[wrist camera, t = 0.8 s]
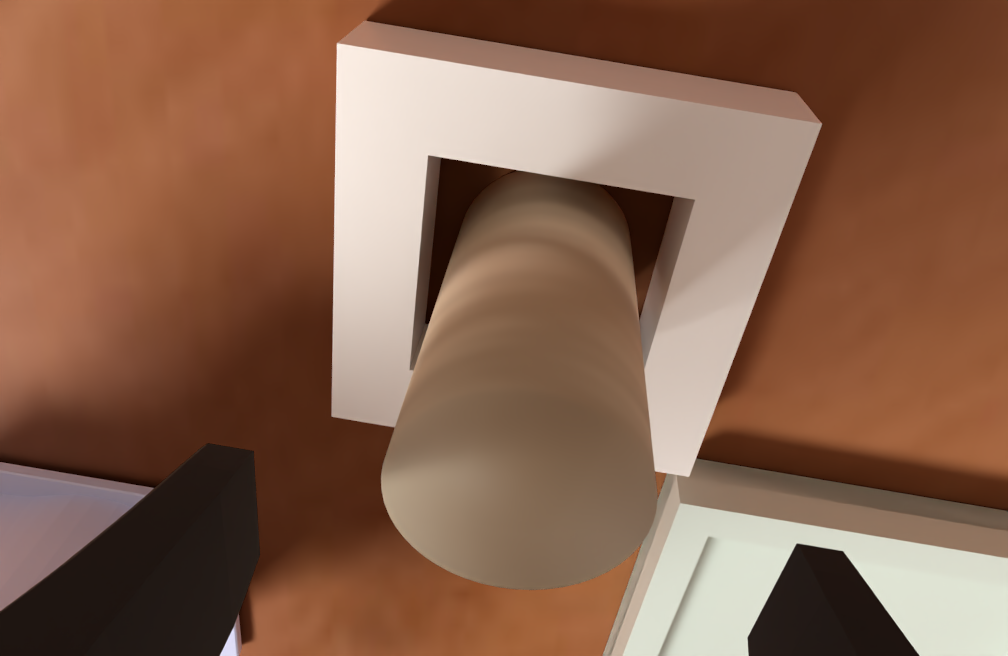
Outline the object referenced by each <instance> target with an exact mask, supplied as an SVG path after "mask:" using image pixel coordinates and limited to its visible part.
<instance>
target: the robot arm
mask: <svg viewBox="0 0 1008 656" xmlns="http://www.w3.org/2000/svg"><path fill="white" fill-rule="evenodd" d="M259 556H260V547H259V531H258V515H257V498H256V482H255V466H254V451H250V450H244V449H239V448H233V447H227V446H221V445H215V444H209V443H208V444H206V445H205V446H203V447H202V448H200V449H199V450H198V451H197V452H195V453H194V454H193V455H192V456H191V457H190V458H189V459H187V460H186V461H185V462H184V463H183V464H182V465H180V466H179V467H178V468H177V469H176V470H175V471H174V472H172V473H171V474H170V475H169V476H168V477H167V478H166V479H164V480H163V481H162V482H161V483H160V484H159V485H157V486H156V487H155V488H151V487H145V486H140V485H134V484H128V483H122V482H116V481H110V480H104V479H98V478H92V477H86V476H80V475H74V474H68V473H63V472H57V471H51V470H45V469H39V468H33V467H27V466H21V465H15V464H9V463H3V462H0V656H239V654H240V652H241V649H242V643H241V632H240V621H239V611H240V609H241V606H242V603H243V601H244V598H245V595H246V593H247V590H248V587H249V584H250V581H251V579H252V576H253V573H254V570H255V567H256V564H257V562H258V559H259ZM747 639H748V653H749V656H919V654H918V653H917V651H916V650H915V649H914V647H913V646H912V645H911V643H910V642H909V641H908V639H907V638H906V636H905V635H904V634H903V632H902V631H901V630H900V628H899V627H898V625H897V624H896V623H895V621H894V620H893V619H892V617H891V616H890V614H889V613H888V612H887V610H886V609H885V608H884V606H883V605H882V603H881V602H880V601H879V599H878V598H877V596H876V595H875V594H874V592H873V591H872V590H871V588H870V587H869V585H868V584H867V583H866V581H865V580H864V579H863V577H862V576H861V574H860V573H859V572H858V570H857V569H856V568H855V566H854V565H853V564H852V562H851V561H850V560H849V558H848V557H847V556H846V554H845V553H844V552H843V551H840V550H834V549H828V548H822V547H816V546H810V545H804V544H798V543H797V544H796V546H795V547H794V549H793V551H792V553H791V555H790V557H789V559H788V561H787V563H786V565H785V567H784V569H783V570H782V572H781V574H780V576H779V578H778V580H777V582H776V584H775V586H774V588H773V590H772V591H771V593H770V595H769V597H768V599H767V601H766V603H765V605H764V607H763V609H762V611H761V613H760V614H759V616H758V618H757V620H756V622H755V624H754V626H753V628H752V630H751V632H750V634H749V635H748V637H747Z"/></svg>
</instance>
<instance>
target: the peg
mask: <svg viewBox="0 0 1008 656" xmlns="http://www.w3.org/2000/svg"><path fill="white" fill-rule="evenodd" d="M381 490H382V495H383V500H384V504H385V506H386V509H387V512H388V514H389V516H390V518H391V520H392V521H393V523H394V525H395V527H396V528H397V529H398V531H399V532H400V533H401V535H402V536H403V537H404V538H405V539H406V540H407V541H408V542H409V543H410V544H411V545H412V546H413V548H415V549H416V550H417V551H418V552H420V553H421V554H422V555H423V556H424V557H426V558H427V559H429V560H430V561H432V562H433V563H435V564H436V565H438V566H440V567H442V568H444V569H446V570H448V571H449V572H451V573H454V574H456V575H459V576H461V577H463V578H466V579H469V580H472V581H475V582H479V583H482V584H486V585H491V586H496V587H501V588H509V589H522V590H539V589H552V588H559V587H565V586H570V585H574V584H578V583H581V582H584V581H587V580H590V579H593V578H595V577H598V576H600V575H602V574H604V573H606V572H608V571H610V570H611V569H613V568H615V567H616V566H618V565H619V564H621V563H622V562H623V561H624V560H626V559H627V558H628V557H629V556H631V555H632V554H633V553H634V551H635V550H636V549H637V548H638V547H639V546H640V545H641V543H642V542H643V540H644V539H645V538H646V536H647V535H648V533H649V530H650V528H651V526H652V524H653V522H654V518H655V514H656V510H657V497H658V496H657V486H656V477H655V467H654V457H653V448H652V438H651V429H650V419H649V410H648V400H647V391H646V381H645V371H644V362H643V352H642V343H641V333H640V324H639V314H638V304H637V295H636V285H635V276H634V266H633V257H632V247H631V238H630V231H629V227H628V224H627V221H626V219H625V216H624V214H623V212H622V210H621V209H620V207H619V205H618V204H617V202H616V201H615V200H614V199H613V198H612V196H611V195H610V194H609V193H608V192H607V191H606V190H604V189H603V188H602V187H601V186H600V185H598V184H597V183H592V182H586V181H580V180H574V179H568V178H562V177H556V176H550V175H544V174H538V173H532V172H526V171H520V170H519V171H515V172H512V173H510V174H507V175H505V176H503V177H501V178H499V179H497V180H496V181H494V182H492V183H491V184H490V185H489V186H487V187H486V188H485V189H483V191H482V192H481V193H480V194H479V195H478V196H477V197H476V198H475V199H474V201H473V202H472V204H471V205H470V207H469V208H468V210H467V212H466V214H465V217H464V219H463V222H462V225H461V228H460V231H459V234H458V237H457V240H456V243H455V246H454V249H453V253H452V256H451V259H450V262H449V265H448V268H447V271H446V274H445V277H444V280H443V283H442V286H441V289H440V292H439V295H438V298H437V301H436V304H435V307H434V310H433V313H432V316H431V319H430V322H429V325H428V328H427V331H426V334H425V337H424V341H423V344H422V347H421V350H420V353H419V356H418V359H417V362H416V365H415V368H414V371H413V374H412V377H411V380H410V383H409V386H408V389H407V392H406V395H405V398H404V401H403V404H402V407H401V410H400V413H399V416H398V419H397V422H396V426H395V429H394V432H393V435H392V438H391V441H390V444H389V447H388V450H387V453H386V456H385V459H384V462H383V467H382V473H381Z"/></svg>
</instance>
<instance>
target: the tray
mask: <svg viewBox="0 0 1008 656" xmlns="http://www.w3.org/2000/svg"><path fill="white" fill-rule="evenodd" d="M797 543H798V544H804V545H810V546H816V547H822V548H828V549H834V550H840V551H843V552H844V553H845V554H846V556H847V557H848V558H849V560H850V561H851V562H852V564H853V565H854V566H855V568H856V569H857V570H858V572H859V573H860V574H861V576H862V577H863V579H864V580H865V581H866V583H867V584H868V585H869V587H870V588H871V590H872V591H873V592H874V594H875V595H876V596H877V598H878V599H879V601H880V602H881V603H882V605H883V606H884V608H885V609H886V610H887V612H888V613H889V614H890V616H891V617H892V619H893V620H894V621H895V623H896V624H897V625H898V627H899V628H900V630H901V631H902V632H903V634H904V635H905V636H906V638H907V639H908V641H909V642H910V643H911V645H912V646H913V647H914V649H915V650H916V651H917V653H918V654H919V656H1008V511H1005V510H999V509H993V508H987V507H981V506H975V505H969V504H963V503H957V502H952V501H946V500H940V499H934V498H928V497H922V496H916V495H910V494H904V493H898V492H892V491H886V490H880V489H874V488H868V487H862V486H856V485H850V484H845V483H839V482H833V481H827V480H821V479H815V478H809V477H803V476H797V475H791V474H785V473H779V472H773V471H767V470H761V469H755V468H749V467H743V466H738V465H732V464H726V463H720V462H714V461H708V460H702V459H696V460H695V463H694V465H693V468H692V471H691V473H690V476H689V477H686V476H680V475H675V474H669V473H667V475H666V478H665V481H664V484H663V486H662V489H661V492H660V495H659V498H658V500H657V510H656V514H655V518H654V522H653V524H652V526H651V528H650V530H649V533H648V535H647V536H646V538H645V539H644V540H643V543H642V546H641V549H640V551H639V554H638V557H637V560H636V563H635V565H634V568H633V571H632V574H631V577H630V580H629V582H628V585H627V588H626V591H625V594H624V597H623V599H622V602H621V605H620V608H619V611H618V614H617V616H616V619H615V622H614V625H613V628H612V630H611V633H610V636H609V639H608V642H607V645H606V647H605V650H604V653H603V656H749V653H748V639H747V637H748V635H749V634H750V632H751V630H752V628H753V626H754V624H755V622H756V620H757V618H758V616H759V614H760V613H761V611H762V609H763V607H764V605H765V603H766V601H767V599H768V597H769V595H770V593H771V591H772V590H773V588H774V586H775V584H776V582H777V580H778V578H779V576H780V574H781V572H782V570H783V569H784V567H785V565H786V563H787V561H788V559H789V557H790V555H791V553H792V551H793V549H794V547H795V546H796V544H797Z"/></svg>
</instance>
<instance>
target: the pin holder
mask: <svg viewBox="0 0 1008 656" xmlns="http://www.w3.org/2000/svg"><path fill="white" fill-rule="evenodd" d="M821 126H822V123H821V122H820V121H819V119H818V118H817V117H816V116H815V114H814V113H813V112H812V111H811V110H810V108H809V107H808V106H807V105H806V103H805V102H804V101H803V100H802V99H801V97H800V96H799V95H798V94H797V93H796V92H790V91H784V90H778V89H772V88H766V87H760V86H754V85H748V84H742V83H736V82H730V81H724V80H718V79H712V78H706V77H700V76H694V75H688V74H682V73H676V72H670V71H664V70H658V69H652V68H646V67H640V66H634V65H628V64H622V63H616V62H610V61H604V60H598V59H592V58H586V57H580V56H574V55H568V54H562V53H556V52H550V51H544V50H538V49H532V48H526V47H520V46H514V45H508V44H502V43H496V42H490V41H484V40H478V39H472V38H466V37H460V36H454V35H448V34H442V33H436V32H430V31H424V30H418V29H412V28H406V27H400V26H394V25H388V24H382V23H376V22H370V21H364V22H362V23H361V24H360V25H359V26H358V27H356V28H355V29H354V30H353V31H351V32H350V33H349V34H348V35H346V36H345V37H344V38H343V39H342V40H340V41H339V42H338V43H337V81H336V147H335V214H334V281H333V347H332V414H331V417H336V418H342V419H348V420H354V421H360V422H366V423H372V424H378V425H383V426H389V427H395V426H396V422H397V419H398V416H399V413H400V410H401V407H402V404H403V401H404V398H405V395H406V392H407V389H408V386H409V383H410V380H411V377H412V374H413V371H414V368H415V365H416V362H417V359H418V356H419V353H420V350H421V347H422V344H423V341H424V337H425V334H426V331H427V328H428V325H429V324H425V321H426V311H427V300H428V290H429V279H430V269H431V259H432V248H433V238H434V227H435V217H436V206H437V196H438V185H439V175H440V165H441V157H442V158H448V159H454V160H460V161H466V162H472V163H478V164H484V165H490V166H496V167H502V168H508V169H514V170H520V171H526V172H532V173H538V174H544V175H550V176H556V177H562V178H568V179H574V180H580V181H586V182H592V183H598V184H604V185H610V186H616V187H622V188H628V189H634V190H640V191H646V192H652V193H658V194H664V195H670V196H675V197H674V200H673V204H672V207H671V211H670V214H669V218H668V222H667V225H666V229H665V232H664V236H663V239H662V243H661V246H660V250H659V253H658V257H657V260H656V264H655V268H654V271H653V275H652V278H651V282H650V285H649V289H648V292H647V296H646V299H645V303H644V306H643V310H642V314H641V317H640V321H639V324H640V333H641V343H642V352H643V362H644V371H645V381H646V391H647V400H648V410H649V419H650V429H651V438H652V448H653V457H654V467H655V471H657V472H663V473H669V474H675V475H680V476H686V477H689V476H690V473H691V471H692V468H693V465H694V463H695V460H696V457H697V455H698V452H699V449H700V447H701V444H702V441H703V439H704V436H705V433H706V431H707V428H708V425H709V423H710V420H711V418H712V415H713V412H714V410H715V407H716V404H717V402H718V399H719V396H720V394H721V391H722V388H723V386H724V383H725V380H726V378H727V375H728V372H729V370H730V367H731V364H732V362H733V359H734V357H735V354H736V351H737V349H738V346H739V343H740V341H741V338H742V335H743V333H744V330H745V327H746V325H747V322H748V319H749V317H750V314H751V311H752V309H753V306H754V304H755V301H756V298H757V296H758V293H759V290H760V288H761V285H762V282H763V280H764V277H765V274H766V272H767V269H768V266H769V264H770V261H771V258H772V256H773V253H774V251H775V248H776V245H777V243H778V240H779V237H780V235H781V232H782V229H783V227H784V224H785V221H786V219H787V216H788V213H789V211H790V208H791V205H792V203H793V200H794V197H795V195H796V192H797V190H798V187H799V184H800V182H801V179H802V176H803V174H804V171H805V168H806V166H807V163H808V160H809V158H810V155H811V152H812V150H813V147H814V144H815V142H816V139H817V137H818V134H819V131H820V129H821Z"/></svg>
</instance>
